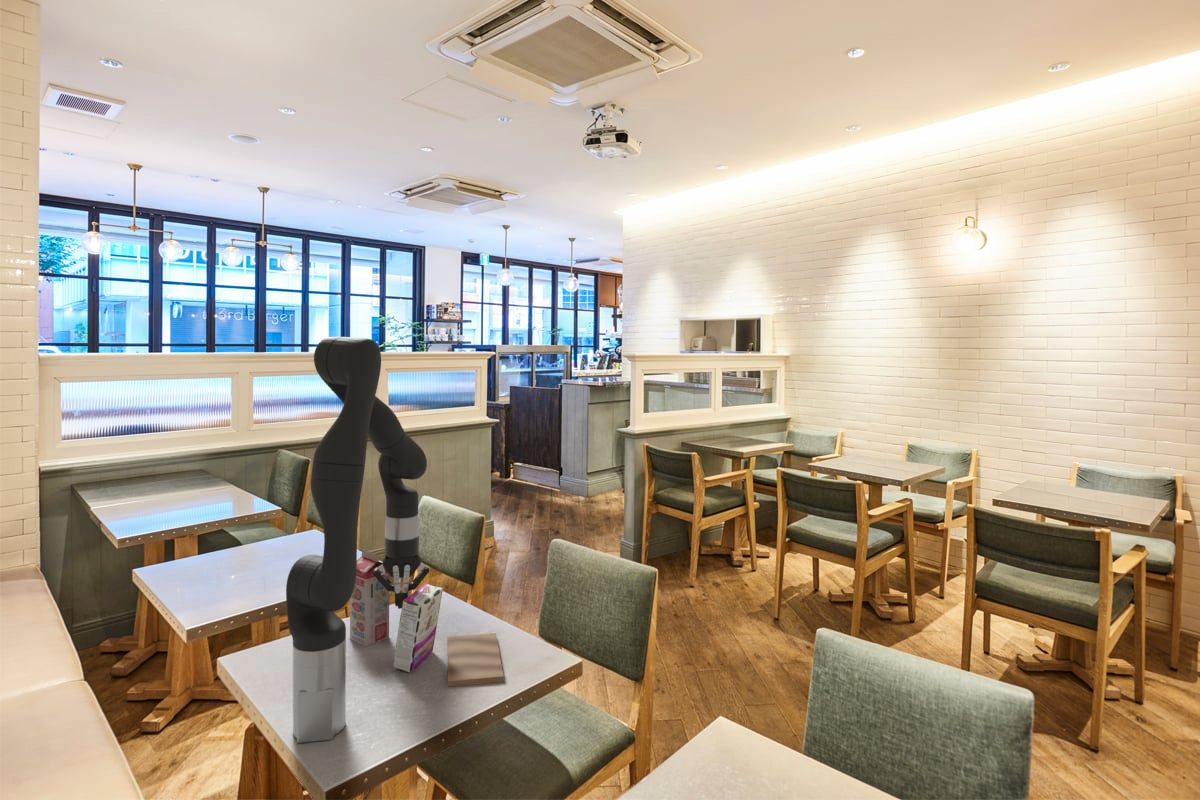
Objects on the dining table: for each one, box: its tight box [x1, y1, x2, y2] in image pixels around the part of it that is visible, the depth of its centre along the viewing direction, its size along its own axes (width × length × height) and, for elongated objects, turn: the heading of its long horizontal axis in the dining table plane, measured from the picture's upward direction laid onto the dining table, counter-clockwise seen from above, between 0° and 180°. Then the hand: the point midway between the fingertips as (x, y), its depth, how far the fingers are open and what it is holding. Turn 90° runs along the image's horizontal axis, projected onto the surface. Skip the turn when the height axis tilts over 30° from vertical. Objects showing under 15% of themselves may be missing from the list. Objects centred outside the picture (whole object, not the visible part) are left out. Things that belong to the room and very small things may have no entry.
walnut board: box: [446, 632, 505, 687], centre depth 151 cm, size 22×12×1 cm, turn 14°
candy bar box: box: [392, 583, 444, 674], centre depth 149 cm, size 11×5×16 cm, turn 168°
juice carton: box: [349, 549, 390, 648], centre depth 160 cm, size 7×7×22 cm
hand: (401, 607), depth 148 cm, fingers closed
